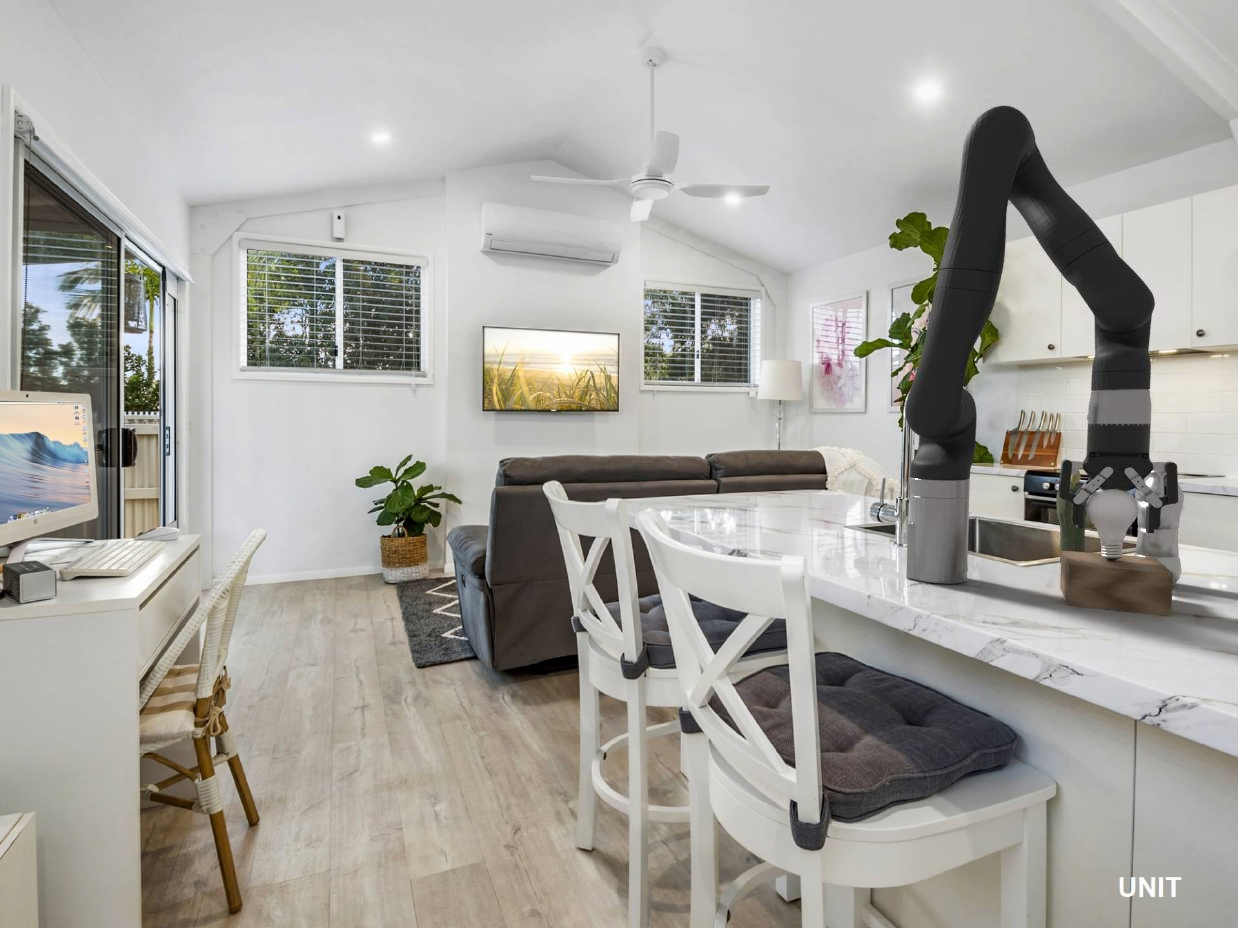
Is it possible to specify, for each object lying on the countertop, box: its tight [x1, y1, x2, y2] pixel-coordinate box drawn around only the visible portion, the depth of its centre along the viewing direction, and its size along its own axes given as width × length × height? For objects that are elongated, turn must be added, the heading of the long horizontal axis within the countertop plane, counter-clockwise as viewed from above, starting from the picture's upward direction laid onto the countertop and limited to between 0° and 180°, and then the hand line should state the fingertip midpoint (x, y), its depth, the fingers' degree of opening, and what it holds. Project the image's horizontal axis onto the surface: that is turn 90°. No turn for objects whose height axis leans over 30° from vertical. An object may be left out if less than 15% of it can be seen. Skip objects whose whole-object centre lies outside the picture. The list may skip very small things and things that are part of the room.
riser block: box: [1059, 551, 1174, 617], centre depth 102 cm, size 12×12×6 cm
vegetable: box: [1055, 469, 1088, 564], centre depth 118 cm, size 4×4×20 cm
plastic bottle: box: [1133, 461, 1185, 585], centre depth 112 cm, size 6×7×20 cm
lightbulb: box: [1086, 488, 1138, 561], centre depth 102 cm, size 6×6×11 cm
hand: (1114, 530), depth 102 cm, fingers open, 8 cm apart
